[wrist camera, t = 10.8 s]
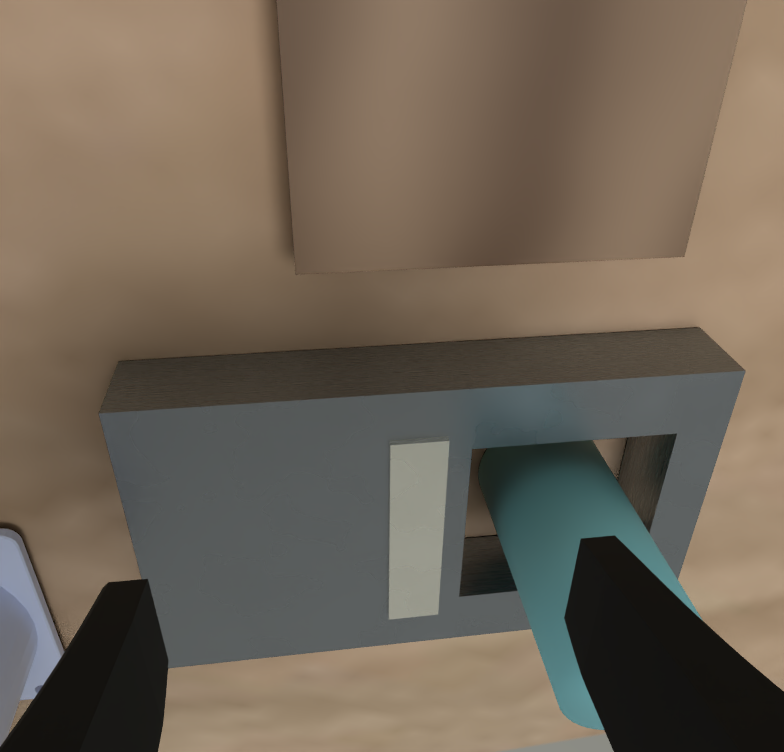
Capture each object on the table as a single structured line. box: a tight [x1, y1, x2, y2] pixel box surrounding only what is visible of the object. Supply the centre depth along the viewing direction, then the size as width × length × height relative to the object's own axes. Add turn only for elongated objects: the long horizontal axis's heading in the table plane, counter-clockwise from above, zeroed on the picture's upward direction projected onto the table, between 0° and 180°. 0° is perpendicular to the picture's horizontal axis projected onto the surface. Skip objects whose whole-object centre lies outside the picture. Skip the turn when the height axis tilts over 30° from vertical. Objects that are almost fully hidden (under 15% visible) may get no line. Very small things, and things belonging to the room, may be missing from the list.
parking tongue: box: [276, 0, 747, 275], centre depth 16 cm, size 10×7×2 cm
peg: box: [478, 440, 703, 730], centre depth 20 cm, size 4×4×8 cm
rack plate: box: [99, 328, 745, 668], centre depth 22 cm, size 17×10×3 cm, turn 90°
